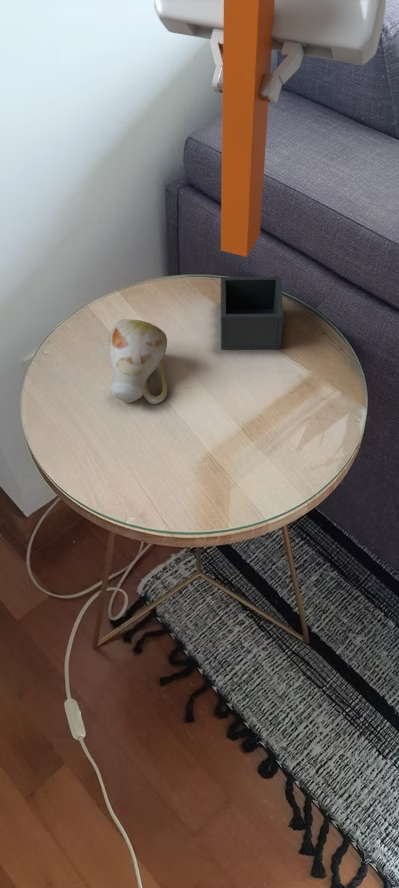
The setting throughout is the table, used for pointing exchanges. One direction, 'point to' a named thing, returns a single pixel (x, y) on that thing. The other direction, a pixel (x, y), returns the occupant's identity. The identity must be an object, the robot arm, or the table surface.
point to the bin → (251, 313)
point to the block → (244, 120)
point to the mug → (136, 359)
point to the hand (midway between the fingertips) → (244, 95)
